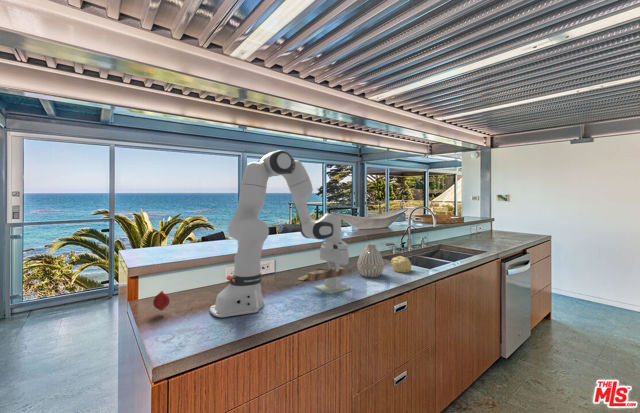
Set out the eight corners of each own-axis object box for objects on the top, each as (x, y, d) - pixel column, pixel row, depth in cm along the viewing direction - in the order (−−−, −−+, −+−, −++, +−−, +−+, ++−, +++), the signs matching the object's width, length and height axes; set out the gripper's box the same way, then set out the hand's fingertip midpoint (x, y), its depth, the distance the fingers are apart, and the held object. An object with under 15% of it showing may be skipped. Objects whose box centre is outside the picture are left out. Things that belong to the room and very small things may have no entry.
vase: (389, 277, 176) (389, 244, 176) (370, 281, 167) (370, 246, 167) (370, 272, 190) (370, 241, 189) (351, 275, 181) (352, 243, 180)
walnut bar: (314, 274, 144) (307, 272, 148) (314, 281, 144) (307, 279, 148) (345, 268, 158) (338, 266, 162) (345, 274, 159) (338, 272, 162)
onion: (152, 313, 117) (152, 293, 117) (154, 309, 122) (154, 289, 122) (168, 311, 119) (168, 292, 119) (169, 307, 124) (169, 288, 124)
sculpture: (388, 271, 192) (388, 255, 192) (402, 270, 197) (402, 254, 197) (400, 275, 181) (400, 258, 181) (414, 273, 187) (415, 256, 186)
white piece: (329, 294, 143) (329, 281, 143) (314, 288, 154) (314, 276, 154) (350, 289, 151) (350, 277, 151) (335, 283, 162) (335, 273, 162)
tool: (300, 282, 166) (299, 274, 166) (297, 281, 171) (296, 273, 172) (335, 275, 175) (334, 267, 175) (331, 274, 181) (330, 266, 181)
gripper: (316, 242, 159) (317, 267, 160) (340, 247, 143) (341, 275, 143) (326, 241, 163) (326, 266, 163) (350, 245, 146) (351, 273, 147)
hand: (333, 270), depth 153 cm, fingers open, 3 cm apart
